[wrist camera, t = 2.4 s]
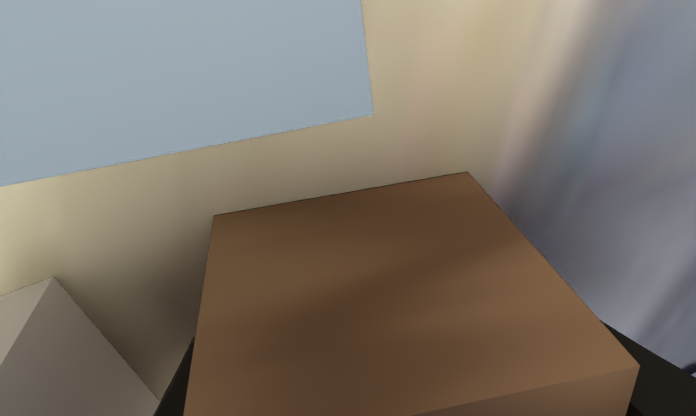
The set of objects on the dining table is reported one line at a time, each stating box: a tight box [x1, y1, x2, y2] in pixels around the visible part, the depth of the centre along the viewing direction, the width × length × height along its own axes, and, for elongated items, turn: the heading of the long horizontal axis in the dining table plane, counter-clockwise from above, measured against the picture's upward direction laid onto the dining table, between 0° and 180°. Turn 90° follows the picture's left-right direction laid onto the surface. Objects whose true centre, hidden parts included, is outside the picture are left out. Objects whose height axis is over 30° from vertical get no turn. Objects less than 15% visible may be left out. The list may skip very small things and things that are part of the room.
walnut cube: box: [183, 172, 640, 416], centre depth 8 cm, size 5×5×5 cm
